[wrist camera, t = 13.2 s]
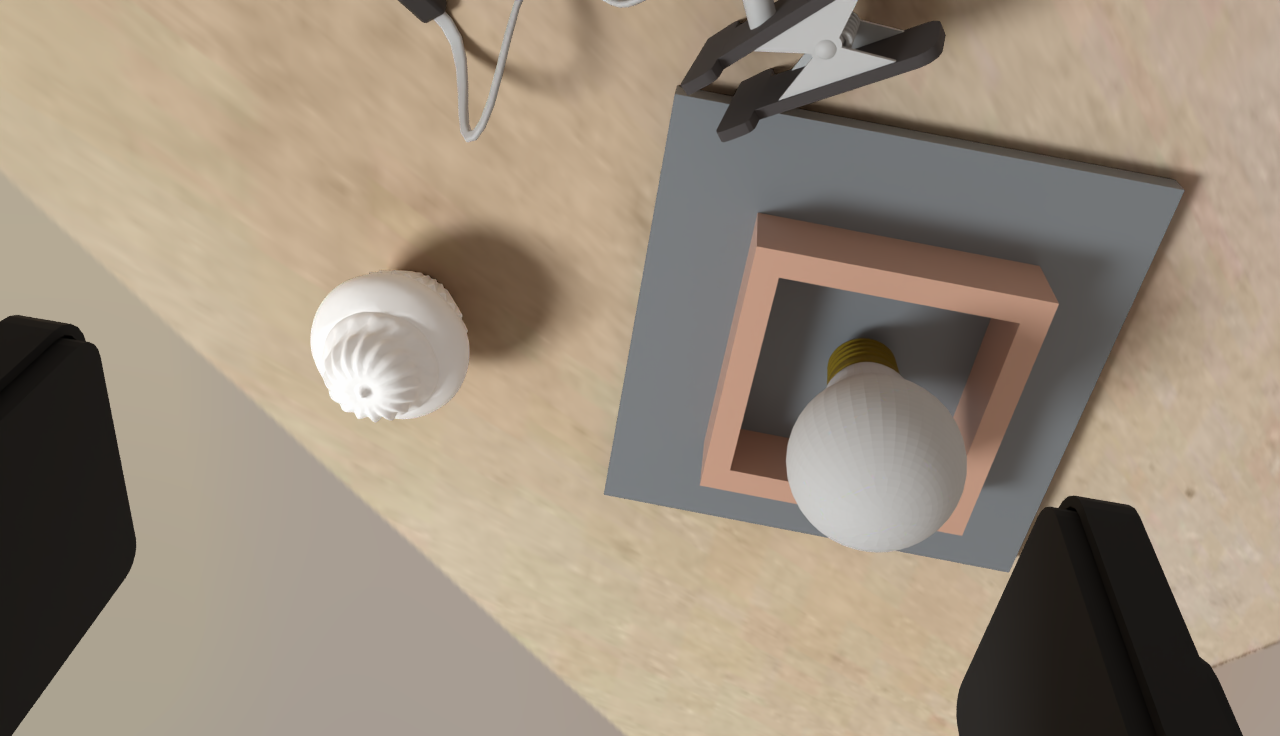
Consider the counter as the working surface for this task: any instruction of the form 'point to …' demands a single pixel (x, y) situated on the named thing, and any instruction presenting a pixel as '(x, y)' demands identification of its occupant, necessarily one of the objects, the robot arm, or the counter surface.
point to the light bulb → (875, 454)
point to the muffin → (390, 345)
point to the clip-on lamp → (796, 23)
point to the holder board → (872, 307)
